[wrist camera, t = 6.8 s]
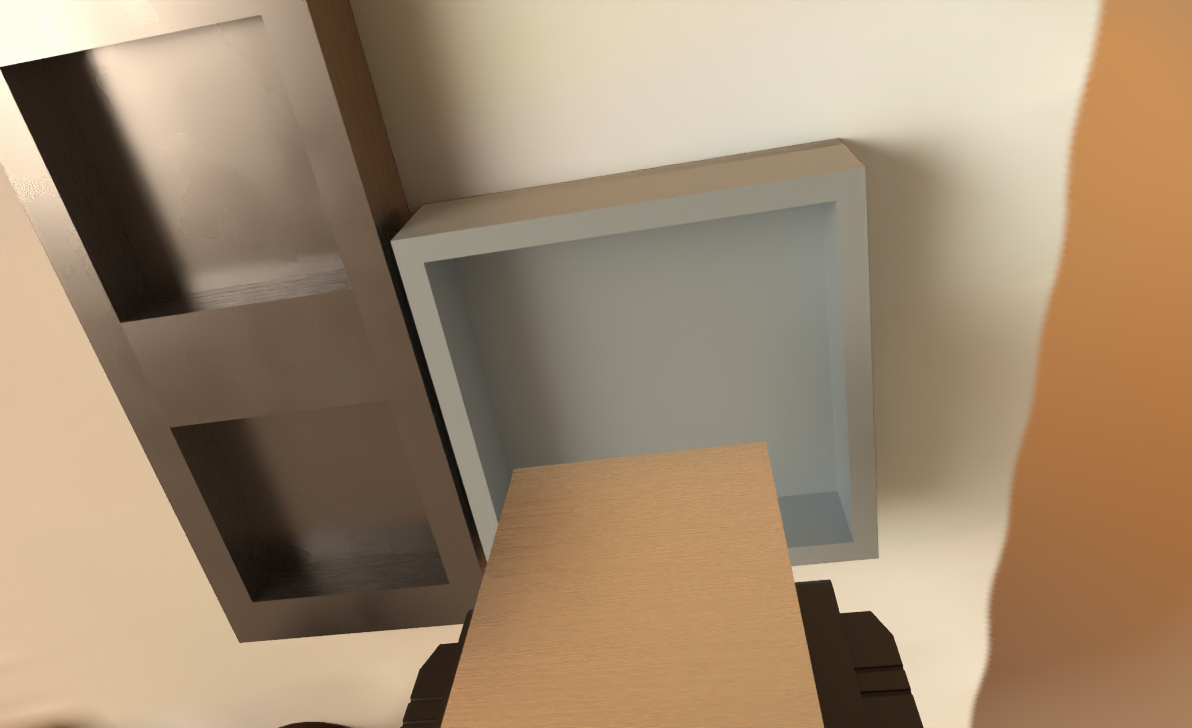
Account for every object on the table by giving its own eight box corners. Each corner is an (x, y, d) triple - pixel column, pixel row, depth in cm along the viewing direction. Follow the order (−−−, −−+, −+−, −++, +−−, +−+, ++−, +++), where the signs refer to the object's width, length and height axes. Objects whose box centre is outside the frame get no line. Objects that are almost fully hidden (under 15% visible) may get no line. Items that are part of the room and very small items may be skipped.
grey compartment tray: (2, -8, 19) (-80, 0, 17) (326, -77, 18) (282, -79, 16) (272, 587, 27) (239, 642, 25) (509, 565, 26) (496, 621, 24)
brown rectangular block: (514, 469, 15) (416, 812, 9) (765, 441, 14) (837, 791, 8) (561, 651, 17) (507, 1030, 11) (785, 633, 16) (854, 1027, 10)
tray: (422, 204, 21) (390, 241, 18) (839, 138, 19) (865, 167, 17) (512, 528, 25) (496, 592, 23) (856, 493, 24) (878, 557, 21)
